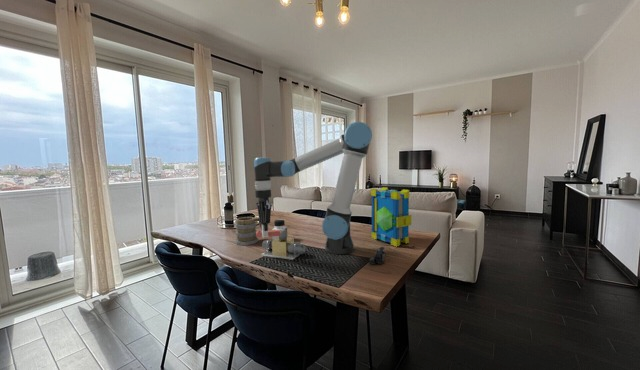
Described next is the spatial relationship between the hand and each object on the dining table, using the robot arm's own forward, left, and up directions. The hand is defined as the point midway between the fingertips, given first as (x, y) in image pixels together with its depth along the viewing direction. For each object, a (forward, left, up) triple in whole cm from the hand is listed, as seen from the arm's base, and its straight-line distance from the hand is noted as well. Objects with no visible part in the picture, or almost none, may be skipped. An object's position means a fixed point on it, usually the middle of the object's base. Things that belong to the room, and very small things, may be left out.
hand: (265, 236), depth 134 cm
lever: (-1, -4, -2) cm, 4 cm away
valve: (-6, -7, -10) cm, 13 cm away
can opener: (-53, -15, -10) cm, 56 cm away
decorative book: (-53, -45, -10) cm, 70 cm away
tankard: (+23, -20, -10) cm, 32 cm away
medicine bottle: (+9, -28, -10) cm, 31 cm away
